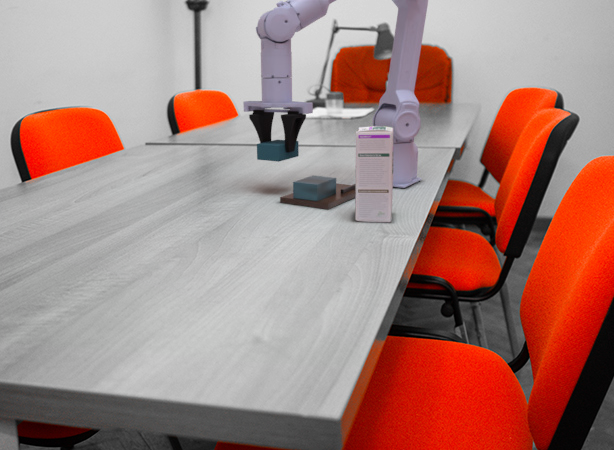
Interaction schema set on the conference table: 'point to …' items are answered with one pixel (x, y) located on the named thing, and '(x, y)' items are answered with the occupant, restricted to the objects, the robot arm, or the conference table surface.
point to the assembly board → (323, 202)
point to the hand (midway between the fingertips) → (277, 150)
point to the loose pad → (275, 151)
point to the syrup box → (374, 174)
